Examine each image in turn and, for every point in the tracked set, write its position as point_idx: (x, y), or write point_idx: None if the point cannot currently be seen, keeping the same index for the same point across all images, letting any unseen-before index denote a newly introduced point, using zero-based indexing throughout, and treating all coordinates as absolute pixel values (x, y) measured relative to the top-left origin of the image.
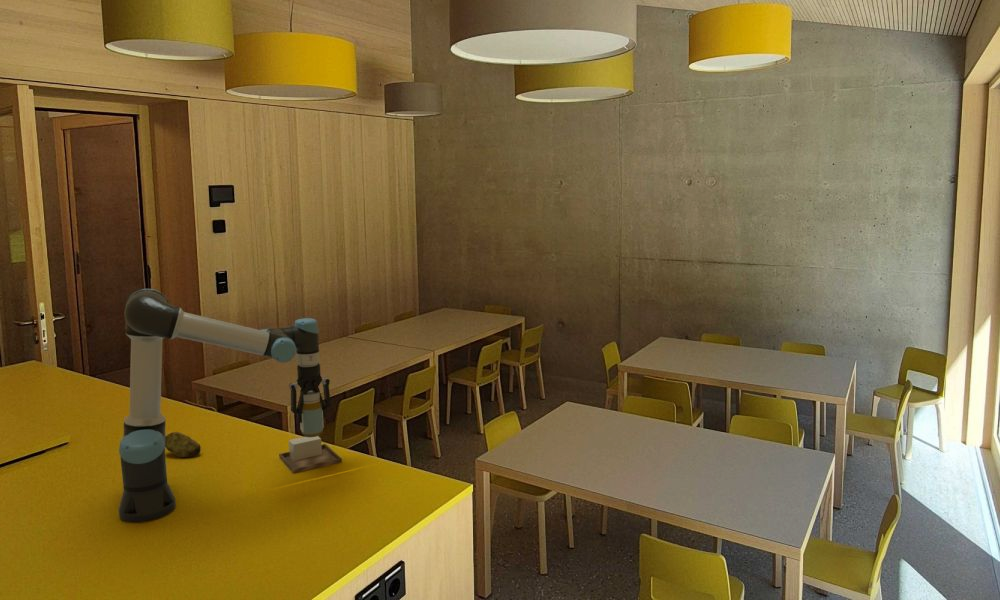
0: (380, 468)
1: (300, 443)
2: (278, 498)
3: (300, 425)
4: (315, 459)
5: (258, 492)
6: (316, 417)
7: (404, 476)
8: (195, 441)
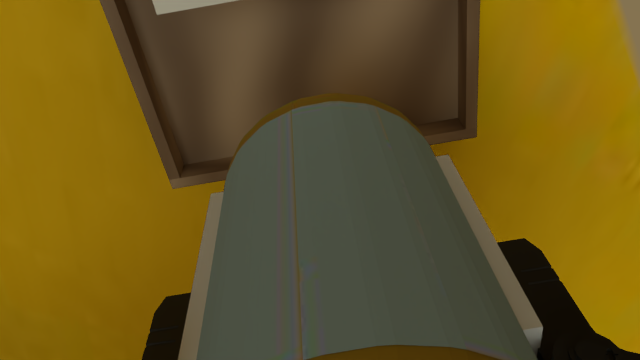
0: (600, 235)
1: (225, 2)
2: (117, 348)
3: (206, 237)
4: (332, 17)
5: (15, 285)
6: None
7: (629, 324)
8: None
